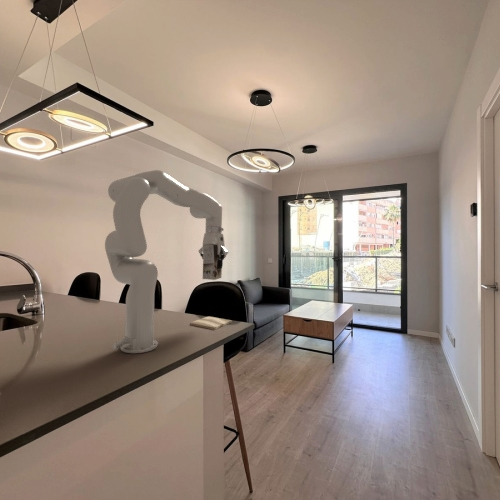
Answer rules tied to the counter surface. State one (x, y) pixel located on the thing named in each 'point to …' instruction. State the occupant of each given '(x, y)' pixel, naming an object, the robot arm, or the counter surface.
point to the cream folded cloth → (211, 322)
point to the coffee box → (210, 263)
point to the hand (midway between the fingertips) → (212, 267)
